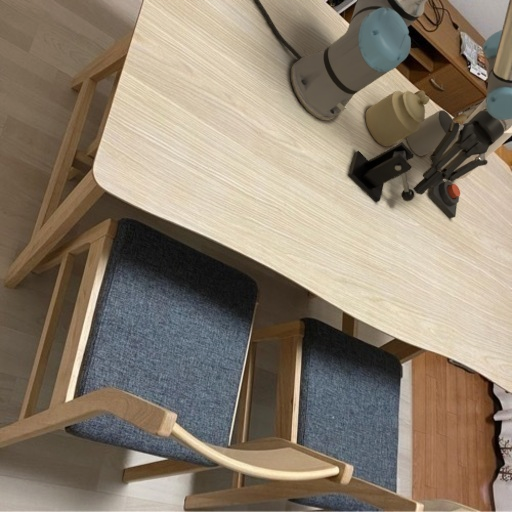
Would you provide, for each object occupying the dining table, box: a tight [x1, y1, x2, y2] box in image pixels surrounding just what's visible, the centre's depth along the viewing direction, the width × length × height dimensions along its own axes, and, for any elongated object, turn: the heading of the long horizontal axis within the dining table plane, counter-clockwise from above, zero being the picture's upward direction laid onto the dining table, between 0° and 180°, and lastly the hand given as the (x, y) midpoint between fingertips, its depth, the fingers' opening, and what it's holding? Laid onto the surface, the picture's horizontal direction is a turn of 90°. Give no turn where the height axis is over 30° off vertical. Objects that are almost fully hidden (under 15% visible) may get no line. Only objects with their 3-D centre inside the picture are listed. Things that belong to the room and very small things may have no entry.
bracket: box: [347, 141, 415, 203], centre depth 130 cm, size 10×8×12 cm
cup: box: [406, 109, 456, 157], centre depth 152 cm, size 8×8×10 cm
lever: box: [393, 151, 415, 202], centre depth 131 cm, size 14×3×3 cm, turn 68°
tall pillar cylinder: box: [439, 98, 512, 180], centre depth 149 cm, size 11×11×25 cm
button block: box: [427, 179, 460, 219], centre depth 153 cm, size 10×8×4 cm
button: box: [447, 183, 461, 199], centre depth 152 cm, size 4×4×2 cm
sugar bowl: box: [365, 89, 431, 147], centre depth 141 cm, size 15×11×15 cm
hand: (417, 191), depth 133 cm, fingers closed
